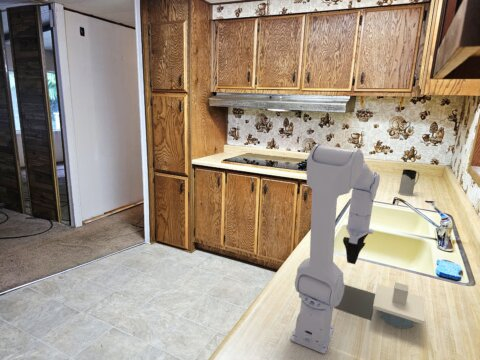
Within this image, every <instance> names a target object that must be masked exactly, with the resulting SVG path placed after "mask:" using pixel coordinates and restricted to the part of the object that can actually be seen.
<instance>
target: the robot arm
mask: <svg viewBox="0 0 480 360" xmlns="http://www.w3.org/2000/svg"><path fill="white" fill-rule="evenodd" d="M380 179H381V177H380V174H378V173H377V171H372V170H371V168H370V167H369V166H368V164H367V163H366V161H365V158H364V152H363V151H362V149H360V148H355V149H354V148H346V147H339V146H332V145H325V144H321V143H316V144H315V145H314V146H312V148H311V150H310V152H309V154H308V156H307V159H306V185H307V186H308V187H309V188H310V189H311V208H310V209H311V210H310V211H311V213H310V237H309V238H310V241H309V243H310V246H309V257H308V258H306V259H304V260H303V261H301V262H300V264H299V265H298V266H297V271H296V276H295V278H294V279H295V280H294V287H295V288H294V289H295V291H296V292H297V293H298V298H300V299H301V301H300V308H299V313H298V314H297V317H296V321H295V328H294V330H293V332H292V334H291V335H290V339H289V341H291V342H294V343H296V344H298V345H301V346H304V348H305V347H306V348H308V349H311V350H313V351H314V352H315V351H316V352H317V353H318V352H319V353H320V354H326V353H327V349H328V347H329V344H330V341H331V339H332V336H333V333H334V330H335V326H333V325H332V319H333V312H334V309H335V308H334V307H336V306H338V305H339V303H340V301H341V299H342V297H343V293H344V287H345V285H346V284H345V282H344V272H343V271H342V270H341V269H340V268H339V266H338V265H336V263H335V262H334V252H335V235H336V218H337V203H338V198H339V197H340V196H343V195H347V194H349V193H350V192H351V197H350V203H349V212H348V218H347V225H346V227H345V228H346V230H347V233H348V235H349V236H348V237H347V236H343V238H342V244H343V245H344V248H345V251H346V253H345V254H346V262H347V263H348V264H351V265H356V263H357V260H358V257H359V254H360V253H361V251H362V249H363V248H364V247H365V246H366V242H365V239H366V238H367V237H368V235H373V234H374V229H373V228H372V229H371V228H370V226H371V225H370V224H371V220H372V219H371V218H372V211H373V205H374V200H375V199H376V196H377V192H378V188H379V185H380V181H381V180H380Z"/></svg>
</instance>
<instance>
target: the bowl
mask: <svg viewBox="0 0 480 360" xmlns="http://www.w3.org/2000/svg"><path fill="white" fill-rule="evenodd" d="M379 316H380V317H381V319H383V320H384V321H385V323H387V324H388V325H391V326H394V327H396V328H399V329H401V330H402V329H409V328H413V326H414V323H415V321H412V320H408V319H405V318H402V317H399V316H396V315H393V314H389V313H386V312H383V311H380V314H379Z"/></svg>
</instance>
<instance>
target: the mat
mask: <svg viewBox="0 0 480 360" xmlns="http://www.w3.org/2000/svg"><path fill="white" fill-rule="evenodd" d="M344 285H345V287H344V293H343V297H342V299H341V301H340V303H339V305H338V306H336V307H334V308H333V309H336V310H338V311H342V312H344V313H347V314H351V315H353V316H357V317H360V318H362V319H364V320H365V319H366V320H369V321H372V319H373V313H374V310H375V309H373V304H374V299H375V294H376V292H371V291H368V290H364V289H361V288H357V287H354V286H350V285H348V284H344Z"/></svg>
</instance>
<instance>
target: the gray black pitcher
mask: <svg viewBox="0 0 480 360" xmlns="http://www.w3.org/2000/svg"><path fill="white" fill-rule="evenodd" d="M400 177H401V178H400V183H399V188H398V189H399V190H398V191H397V194H398V195H401V196H406V197H414V189H415V186H416V184H417V183H418V181H419V179H420V172H419V171H417V170H415V169H409V168H408V169H407V168H405V169H403V170H402V174H401V176H400ZM416 178H417V179H416Z"/></svg>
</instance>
